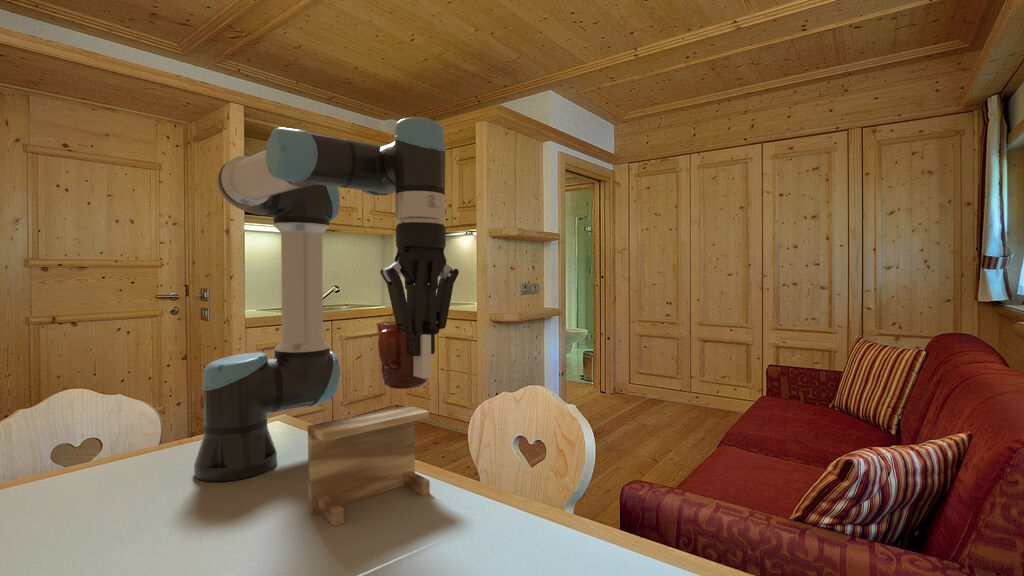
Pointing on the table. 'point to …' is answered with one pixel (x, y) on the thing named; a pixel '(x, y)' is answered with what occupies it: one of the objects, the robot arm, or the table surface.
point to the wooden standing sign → (362, 459)
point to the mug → (396, 357)
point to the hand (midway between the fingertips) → (422, 376)
